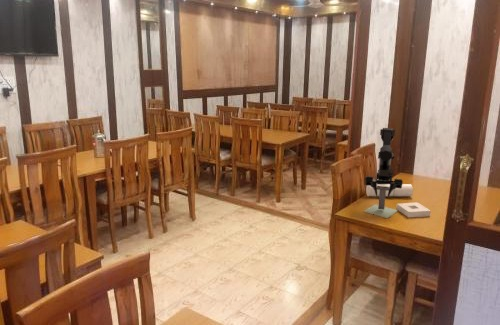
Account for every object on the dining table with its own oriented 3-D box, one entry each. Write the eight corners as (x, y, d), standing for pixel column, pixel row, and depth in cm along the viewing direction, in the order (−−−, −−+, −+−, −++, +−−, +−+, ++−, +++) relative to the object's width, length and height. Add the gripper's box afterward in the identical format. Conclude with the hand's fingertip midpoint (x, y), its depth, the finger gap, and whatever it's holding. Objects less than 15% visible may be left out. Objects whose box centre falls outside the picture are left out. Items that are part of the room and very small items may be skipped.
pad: (363, 212, 206) (364, 210, 206) (374, 205, 215) (374, 204, 215) (387, 218, 197) (387, 217, 197) (397, 211, 207) (398, 210, 206)
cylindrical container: (407, 185, 233) (365, 185, 233) (412, 182, 226) (369, 183, 226) (408, 197, 231) (366, 197, 231) (413, 195, 224) (370, 195, 224)
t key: (375, 206, 208) (377, 185, 205) (387, 207, 206) (389, 186, 203) (375, 208, 205) (377, 187, 202) (387, 209, 203) (389, 188, 200)
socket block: (396, 208, 210) (396, 203, 209) (416, 207, 211) (417, 202, 211) (408, 217, 198) (408, 212, 197) (429, 216, 200) (430, 210, 199)
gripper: (366, 161, 206) (363, 187, 199) (404, 164, 200) (402, 191, 193) (366, 171, 215) (363, 197, 208) (402, 174, 209) (400, 201, 202)
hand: (382, 196), depth 203 cm, fingers closed on t key, 5 cm apart
